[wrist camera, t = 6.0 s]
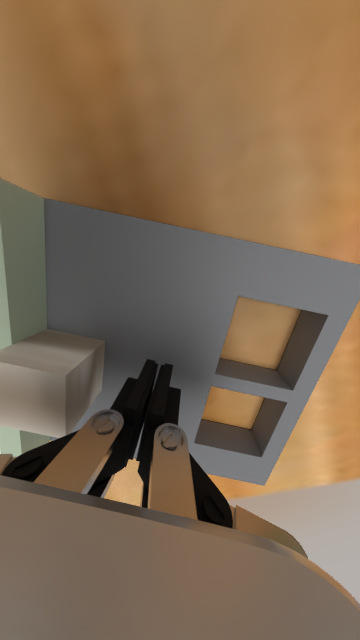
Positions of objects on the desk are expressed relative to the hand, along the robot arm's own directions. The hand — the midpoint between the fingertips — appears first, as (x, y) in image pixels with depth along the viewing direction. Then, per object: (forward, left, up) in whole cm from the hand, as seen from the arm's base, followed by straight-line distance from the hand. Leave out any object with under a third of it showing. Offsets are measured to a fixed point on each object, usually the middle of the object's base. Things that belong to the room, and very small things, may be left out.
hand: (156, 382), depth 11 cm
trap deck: (0, 0, -4) cm, 4 cm away
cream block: (+1, -6, -1) cm, 6 cm away
